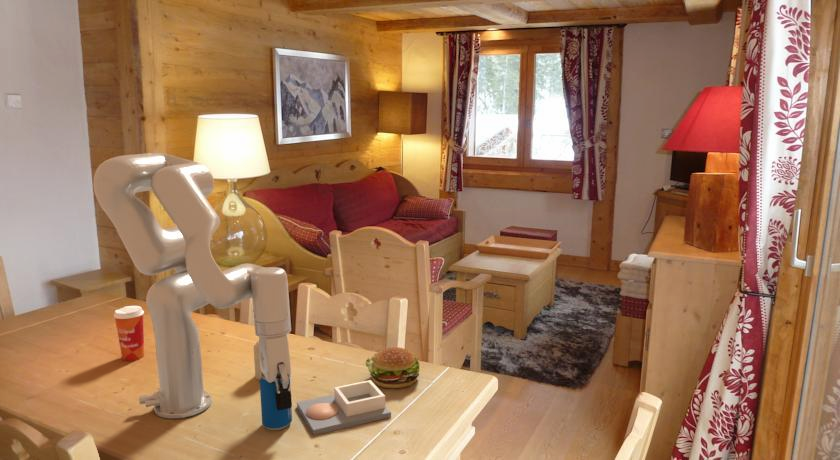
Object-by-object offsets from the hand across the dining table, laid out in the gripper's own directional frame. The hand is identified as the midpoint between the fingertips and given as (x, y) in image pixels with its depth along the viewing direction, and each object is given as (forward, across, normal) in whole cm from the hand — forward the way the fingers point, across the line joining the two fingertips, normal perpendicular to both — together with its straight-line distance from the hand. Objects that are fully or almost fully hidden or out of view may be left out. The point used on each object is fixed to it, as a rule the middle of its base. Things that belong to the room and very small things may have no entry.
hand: (279, 399), depth 136 cm
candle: (+6, -27, +2) cm, 27 cm away
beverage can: (+6, -1, -1) cm, 6 cm away
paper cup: (+4, -56, -29) cm, 63 cm away
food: (+7, -11, +31) cm, 34 cm away
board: (+6, 0, +14) cm, 16 cm away
